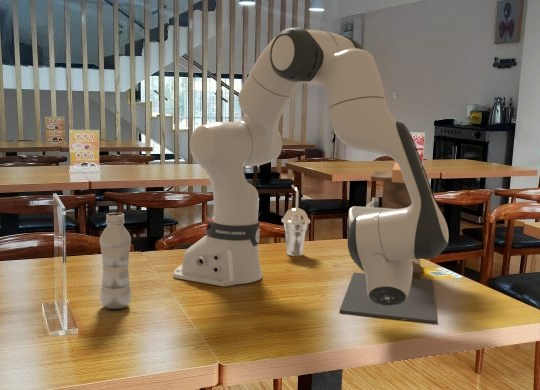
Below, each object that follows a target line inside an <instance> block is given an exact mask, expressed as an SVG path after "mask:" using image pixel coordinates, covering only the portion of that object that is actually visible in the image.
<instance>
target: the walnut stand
mask: <svg viewBox="0 0 540 390" xmlns="http://www.w3.org/2000/svg"><path fill="white" fill-rule="evenodd" d="M426 175H427V173H426ZM370 181H371V182H373V181H374V182H383V185H382V198H381V199H382V200H381V208H390V209H401V208H407V207H409V206H410V205H411V204H412V201H411V198H410V195H409V192H408V190H407V187H406V184H405V183H400V182H392V171H378V170H375V171H374V172H373V173H372V175H371V176H370ZM411 262H412V265H413V274H412V278H416V279H421V274H422V273H421V265H422V264H421V259H415V258H414V259H412V261H411Z"/></svg>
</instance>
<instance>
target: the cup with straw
mask: <svg viewBox="0 0 540 390" xmlns="http://www.w3.org/2000/svg"><path fill="white" fill-rule="evenodd" d="M291 187H292V190H294V191H295V207H292V208H290V209H288V210H287V211H286V212H285V214H284V216H283V217H282V218H281V223H283V226H284V227H283V228H284V231H285V233H284V234H285V247H286V248H285V249H286V251H287V252H286V254H287V255H288V256H291V257H292V256H293V257H301V256H302V255H303V252H304V244H305V240H306V239H305V237H306V232H307V229H308V225H309V224H311V220H310V218H309V217H308V214H307V213H306V211H305V210H304V209H301V208H299V193H300V192H299V190H298V188H297V187H296V186H295V185H294V184H291Z"/></svg>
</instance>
